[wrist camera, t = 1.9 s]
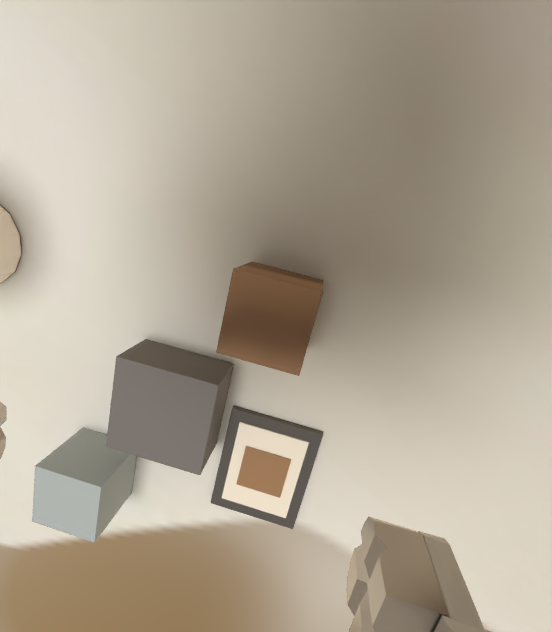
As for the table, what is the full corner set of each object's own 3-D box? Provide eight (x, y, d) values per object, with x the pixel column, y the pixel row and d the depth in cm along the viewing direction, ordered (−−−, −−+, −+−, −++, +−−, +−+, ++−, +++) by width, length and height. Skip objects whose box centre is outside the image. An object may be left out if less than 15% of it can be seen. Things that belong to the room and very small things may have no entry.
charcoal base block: (147, 338, 26) (116, 356, 22) (234, 362, 26) (218, 385, 22) (136, 417, 28) (106, 446, 24) (217, 441, 27) (200, 475, 24)
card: (233, 405, 26) (231, 409, 26) (322, 431, 26) (322, 436, 25) (212, 499, 29) (209, 504, 28) (293, 524, 28) (292, 531, 27)
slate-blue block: (83, 426, 29) (35, 466, 24) (139, 444, 28) (100, 487, 24) (79, 475, 30) (32, 521, 25) (131, 492, 30) (94, 542, 25)
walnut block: (252, 261, 23) (233, 269, 19) (323, 280, 23) (322, 292, 18) (237, 329, 25) (216, 352, 20) (304, 347, 24) (299, 375, 20)
